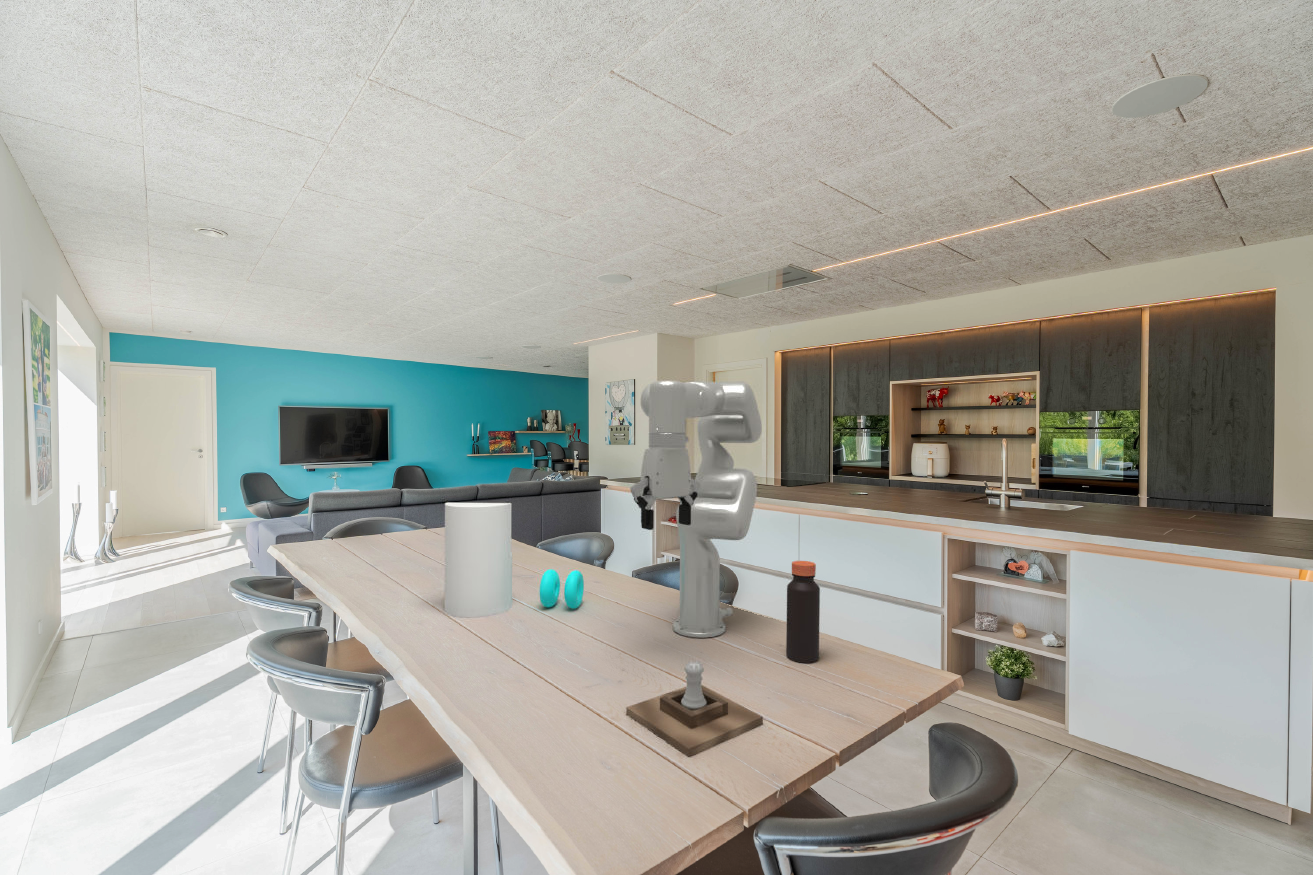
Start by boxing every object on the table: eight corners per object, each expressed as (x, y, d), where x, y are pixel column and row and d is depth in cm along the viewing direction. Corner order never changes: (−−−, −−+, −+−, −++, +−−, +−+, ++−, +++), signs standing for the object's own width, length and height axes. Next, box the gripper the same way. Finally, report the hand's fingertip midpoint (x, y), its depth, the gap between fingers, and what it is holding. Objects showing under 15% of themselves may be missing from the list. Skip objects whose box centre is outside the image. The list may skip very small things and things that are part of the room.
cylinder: (501, 618, 148) (502, 507, 147) (433, 617, 148) (434, 506, 147) (518, 598, 165) (519, 499, 164) (457, 597, 165) (458, 498, 165)
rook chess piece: (678, 705, 99) (679, 658, 99) (704, 704, 99) (705, 657, 99) (682, 718, 95) (682, 669, 94) (709, 717, 95) (709, 668, 95)
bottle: (821, 654, 125) (822, 561, 125) (816, 665, 119) (817, 568, 119) (789, 649, 128) (790, 558, 128) (782, 660, 122) (784, 564, 122)
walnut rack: (697, 688, 108) (697, 671, 108) (762, 723, 95) (763, 704, 95) (626, 714, 98) (626, 695, 98) (688, 756, 86) (688, 735, 86)
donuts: (550, 600, 163) (550, 565, 163) (584, 602, 161) (585, 566, 161) (537, 611, 153) (538, 573, 153) (574, 613, 151) (575, 575, 151)
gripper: (687, 441, 126) (686, 520, 127) (621, 442, 116) (620, 528, 116) (711, 442, 120) (710, 525, 121) (643, 443, 110) (643, 533, 110)
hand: (666, 526), depth 118 cm, fingers open, 9 cm apart
